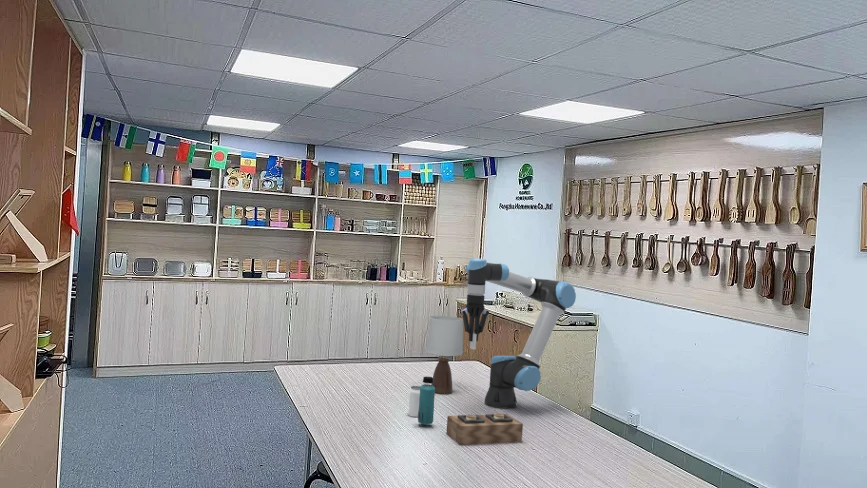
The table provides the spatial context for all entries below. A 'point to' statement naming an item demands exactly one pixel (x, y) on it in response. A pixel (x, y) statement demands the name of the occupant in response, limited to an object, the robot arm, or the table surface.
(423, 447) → the table surface
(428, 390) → the beverage bottle
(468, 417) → the peg
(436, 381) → the lamp
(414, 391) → the can
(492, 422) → the walnut block
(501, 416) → the peg
